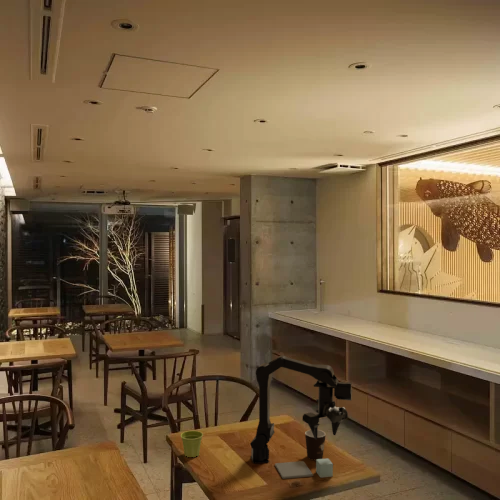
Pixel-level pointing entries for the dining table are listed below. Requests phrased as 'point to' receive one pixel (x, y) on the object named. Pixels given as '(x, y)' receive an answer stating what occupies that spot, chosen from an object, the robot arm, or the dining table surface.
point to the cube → (324, 467)
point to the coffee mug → (315, 444)
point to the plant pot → (191, 443)
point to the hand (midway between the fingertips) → (325, 437)
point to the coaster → (293, 469)
